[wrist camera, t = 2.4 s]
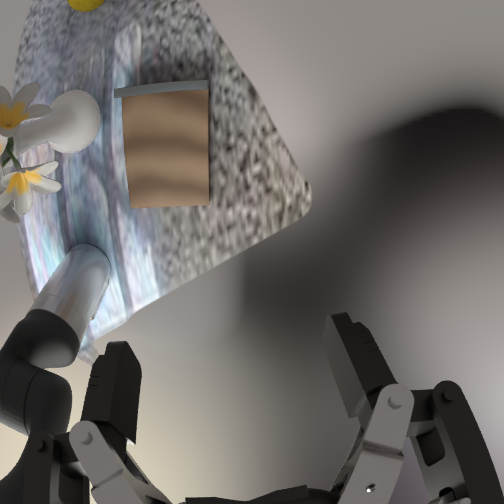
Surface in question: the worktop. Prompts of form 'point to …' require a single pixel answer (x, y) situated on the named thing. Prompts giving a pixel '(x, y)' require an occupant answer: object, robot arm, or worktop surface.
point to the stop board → (166, 143)
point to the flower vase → (40, 141)
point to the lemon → (85, 4)
